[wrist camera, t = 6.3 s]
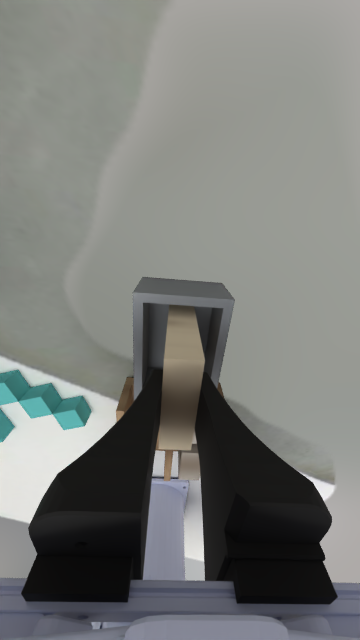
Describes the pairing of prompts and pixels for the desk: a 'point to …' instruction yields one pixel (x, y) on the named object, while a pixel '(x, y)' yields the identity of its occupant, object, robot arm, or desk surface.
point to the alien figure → (39, 403)
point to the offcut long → (188, 464)
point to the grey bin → (153, 317)
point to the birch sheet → (180, 379)
